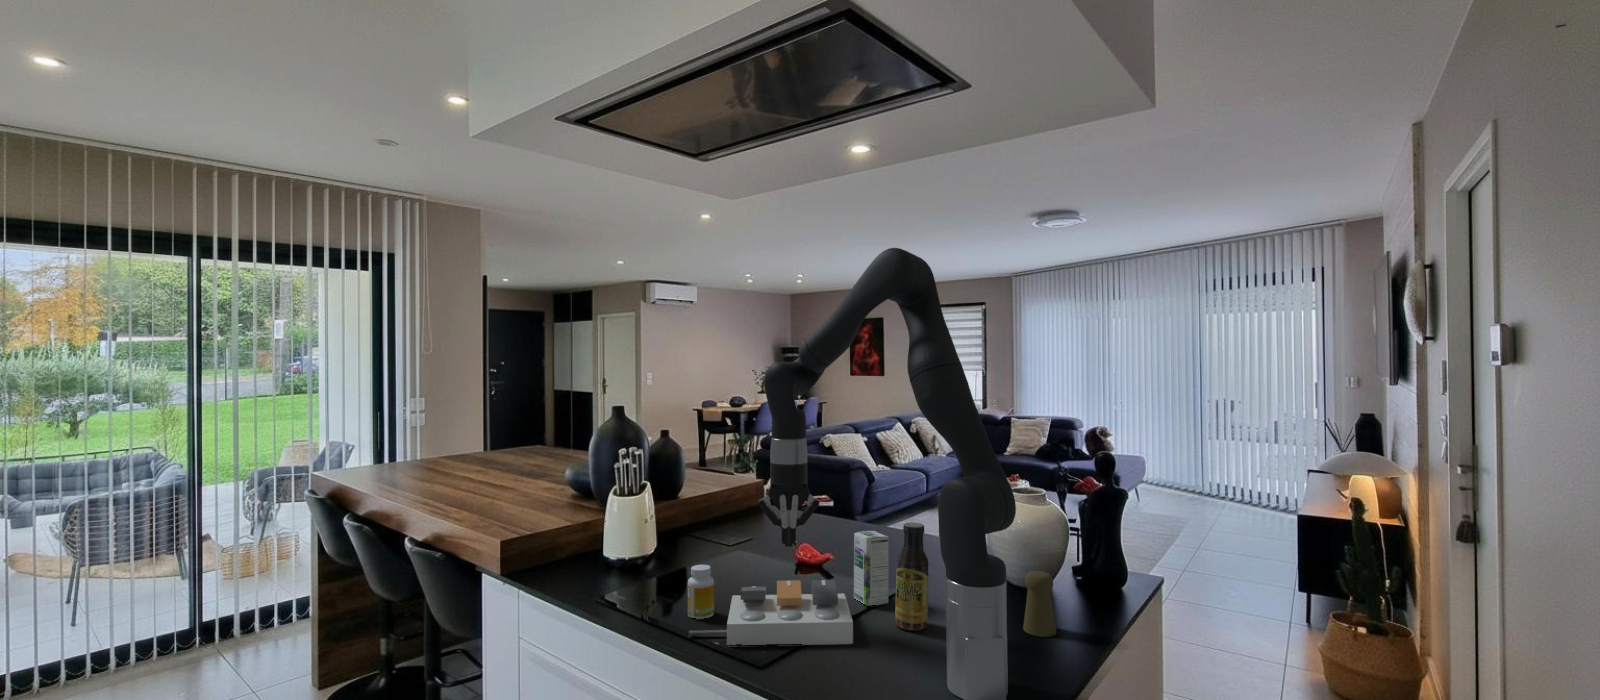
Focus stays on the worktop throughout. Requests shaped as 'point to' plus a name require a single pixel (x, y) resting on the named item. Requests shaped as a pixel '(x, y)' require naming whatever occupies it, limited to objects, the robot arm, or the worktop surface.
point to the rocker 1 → (753, 594)
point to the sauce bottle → (912, 580)
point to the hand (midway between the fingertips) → (788, 545)
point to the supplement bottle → (700, 592)
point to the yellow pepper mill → (1039, 605)
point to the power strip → (786, 623)
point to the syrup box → (871, 568)
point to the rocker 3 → (824, 592)
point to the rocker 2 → (789, 593)
